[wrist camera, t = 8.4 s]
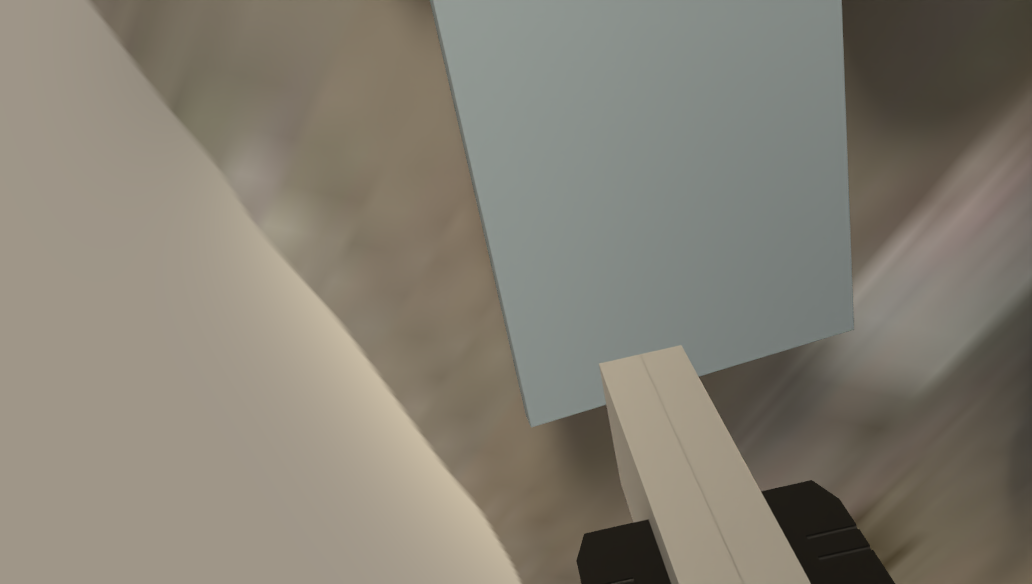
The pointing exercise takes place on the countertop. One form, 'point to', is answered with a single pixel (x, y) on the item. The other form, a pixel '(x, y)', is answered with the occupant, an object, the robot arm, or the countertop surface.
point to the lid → (654, 179)
